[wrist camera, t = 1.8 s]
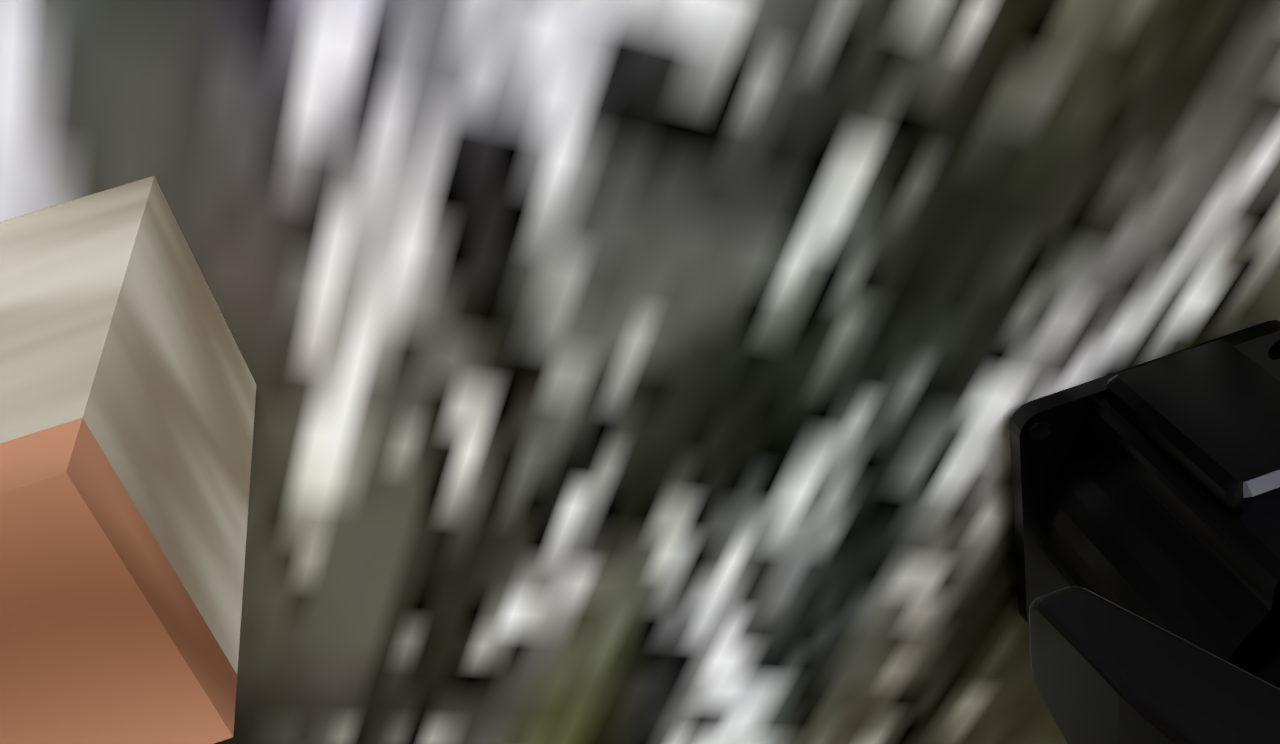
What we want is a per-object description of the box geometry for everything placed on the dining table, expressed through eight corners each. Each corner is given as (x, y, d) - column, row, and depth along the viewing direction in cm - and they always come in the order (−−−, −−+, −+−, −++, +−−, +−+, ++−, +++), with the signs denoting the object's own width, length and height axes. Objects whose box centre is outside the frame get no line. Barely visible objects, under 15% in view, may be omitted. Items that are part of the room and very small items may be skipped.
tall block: (256, 384, 20) (233, 736, 13) (25, 458, 20) (-115, 856, 13) (154, 175, 18) (66, 473, 11) (-107, 253, 18) (-358, 607, 11)
